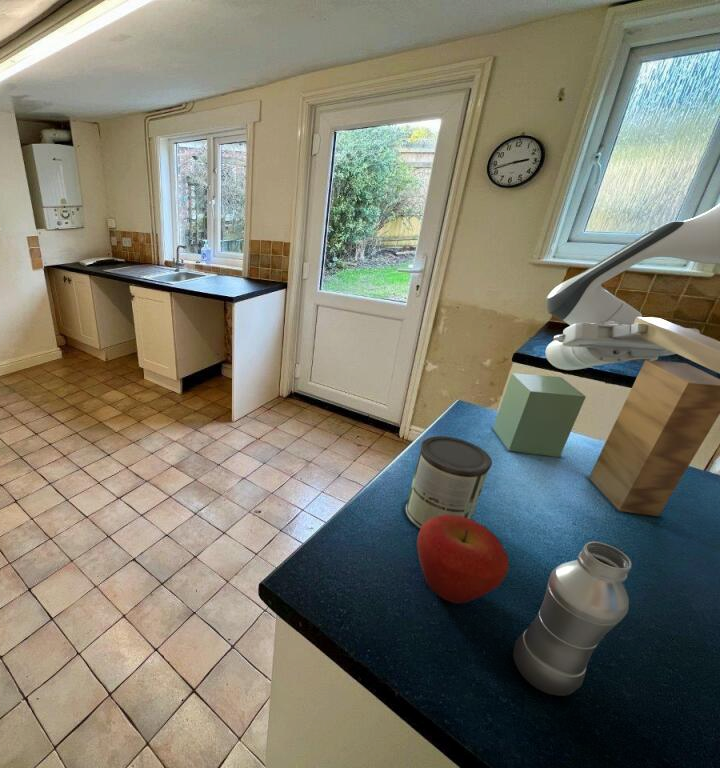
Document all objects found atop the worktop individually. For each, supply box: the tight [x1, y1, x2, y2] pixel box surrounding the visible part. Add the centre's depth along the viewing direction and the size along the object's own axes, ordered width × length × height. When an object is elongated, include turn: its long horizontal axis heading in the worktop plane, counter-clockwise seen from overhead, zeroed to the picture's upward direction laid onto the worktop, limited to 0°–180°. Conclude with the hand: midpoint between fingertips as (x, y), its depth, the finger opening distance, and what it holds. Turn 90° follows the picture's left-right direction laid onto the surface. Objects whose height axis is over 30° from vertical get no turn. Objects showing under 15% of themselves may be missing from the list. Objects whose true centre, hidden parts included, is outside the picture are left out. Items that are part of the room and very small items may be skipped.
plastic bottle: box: [512, 541, 632, 697], centre depth 46 cm, size 6×7×20 cm
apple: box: [416, 515, 510, 604], centre depth 58 cm, size 11×11×12 cm
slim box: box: [634, 316, 720, 375], centre depth 69 cm, size 4×21×3 cm, turn 166°
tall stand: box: [588, 360, 720, 517], centre depth 74 cm, size 6×10×26 cm, turn 166°
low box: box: [492, 372, 587, 458], centre depth 94 cm, size 10×10×15 cm
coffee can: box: [405, 435, 493, 530], centre depth 72 cm, size 10×10×14 cm
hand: (659, 328), depth 75 cm, fingers closed on slim box, 3 cm apart
